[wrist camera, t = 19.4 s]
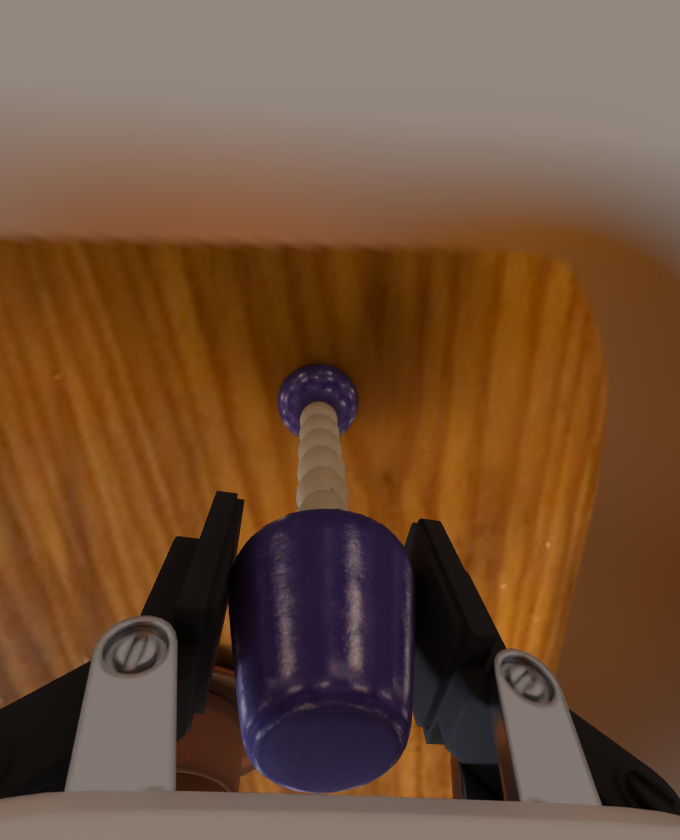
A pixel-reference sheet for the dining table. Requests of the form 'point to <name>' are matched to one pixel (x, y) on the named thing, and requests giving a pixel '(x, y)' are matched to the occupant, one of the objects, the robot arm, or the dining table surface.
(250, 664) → the toy lamp
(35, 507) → the dining table surface
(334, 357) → the dining table surface
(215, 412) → the dining table surface
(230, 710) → the cup and saucer
